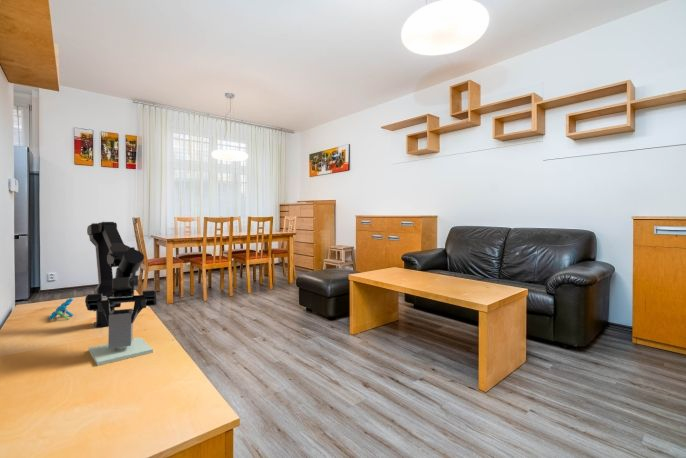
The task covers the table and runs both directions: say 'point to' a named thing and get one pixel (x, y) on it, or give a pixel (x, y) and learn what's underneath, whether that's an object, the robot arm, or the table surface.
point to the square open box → (120, 328)
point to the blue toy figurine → (62, 310)
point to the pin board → (119, 351)
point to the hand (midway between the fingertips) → (120, 323)
